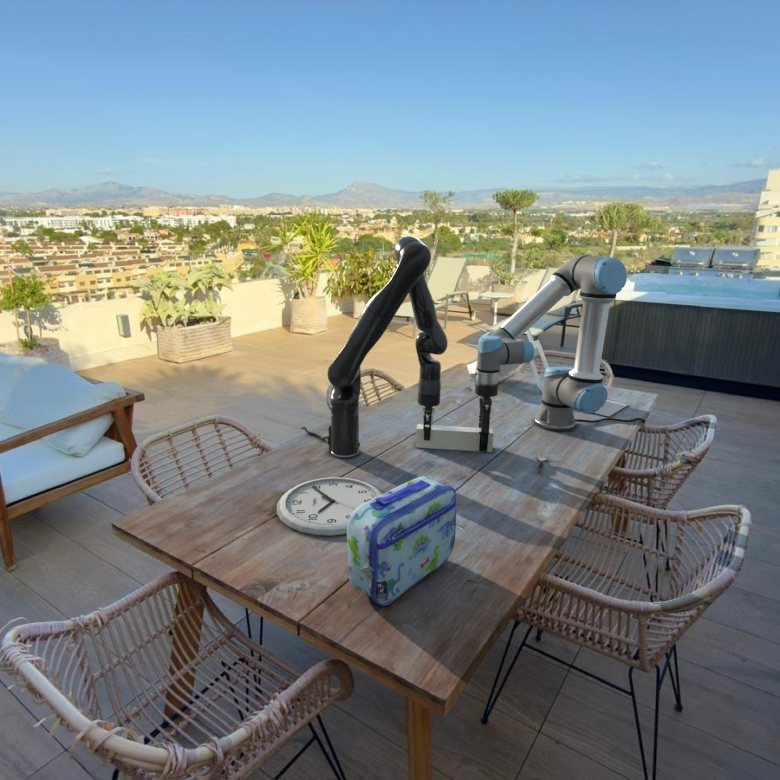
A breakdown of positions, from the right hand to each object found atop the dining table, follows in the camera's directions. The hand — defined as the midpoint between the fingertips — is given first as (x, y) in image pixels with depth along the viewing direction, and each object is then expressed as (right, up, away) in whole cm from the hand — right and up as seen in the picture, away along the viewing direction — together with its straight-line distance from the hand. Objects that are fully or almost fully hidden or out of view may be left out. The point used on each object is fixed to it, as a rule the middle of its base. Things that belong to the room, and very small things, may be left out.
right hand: (482, 445), depth 180 cm
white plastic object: (+25, +21, +73) cm, 80 cm away
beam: (-10, -1, +1) cm, 10 cm away
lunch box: (-29, -22, -67) cm, 76 cm away
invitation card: (+60, +12, +46) cm, 76 cm away
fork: (+17, -5, -11) cm, 21 cm away
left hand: (-19, +3, +1) cm, 19 cm away
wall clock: (-48, -12, -38) cm, 62 cm away
